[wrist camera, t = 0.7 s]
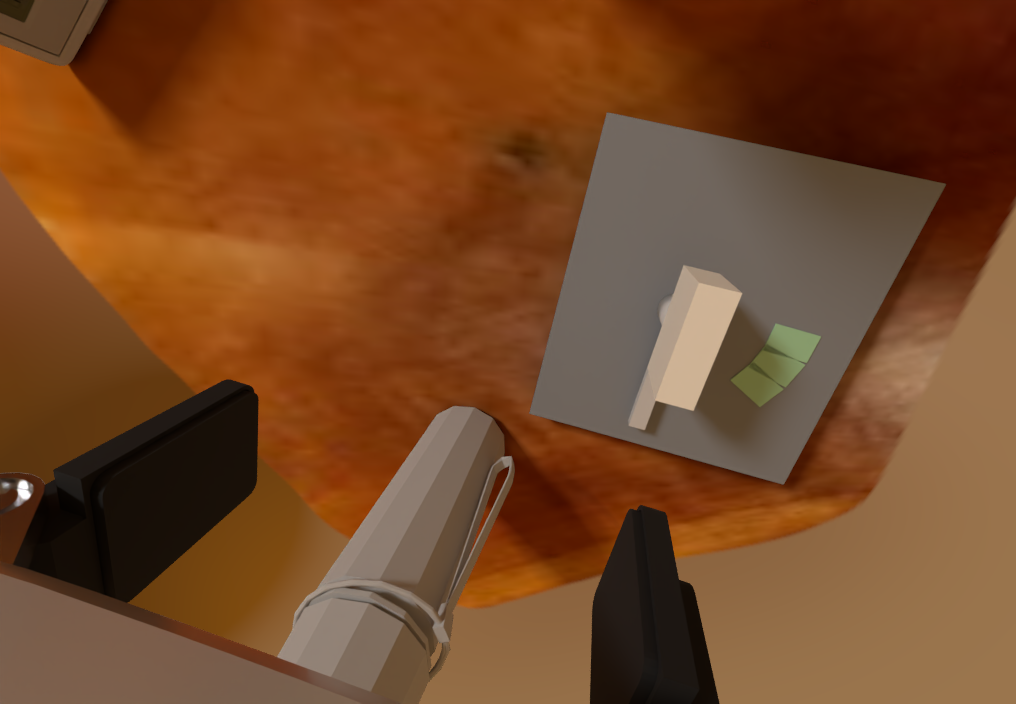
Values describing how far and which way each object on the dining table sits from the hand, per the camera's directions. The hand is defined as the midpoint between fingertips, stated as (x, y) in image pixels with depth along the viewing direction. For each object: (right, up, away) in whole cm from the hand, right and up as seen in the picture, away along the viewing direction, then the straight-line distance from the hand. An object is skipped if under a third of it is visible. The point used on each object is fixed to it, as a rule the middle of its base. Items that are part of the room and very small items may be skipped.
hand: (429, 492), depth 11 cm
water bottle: (-1, -4, +31) cm, 31 cm away
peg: (+13, +4, +22) cm, 26 cm away
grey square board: (+16, +7, +23) cm, 29 cm away
